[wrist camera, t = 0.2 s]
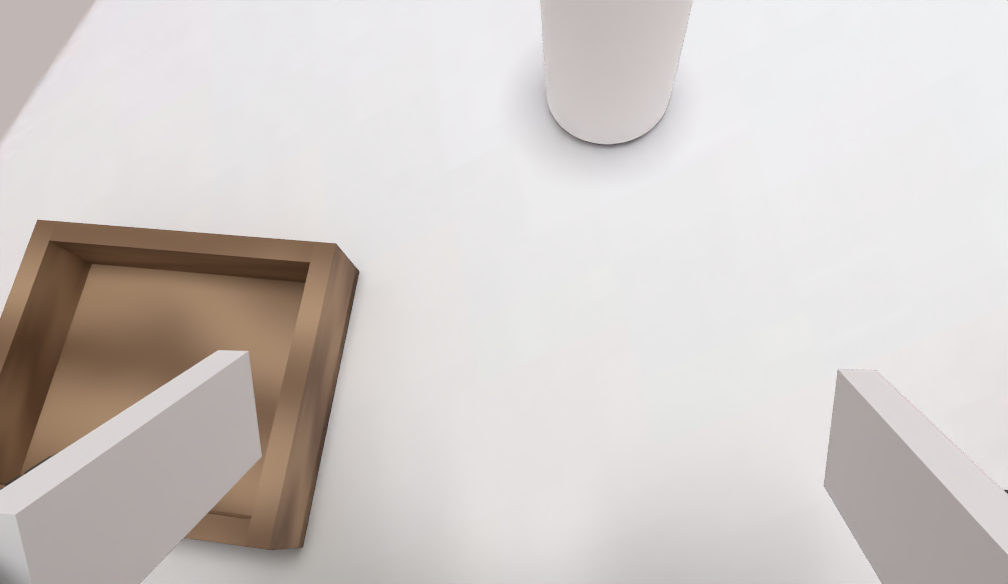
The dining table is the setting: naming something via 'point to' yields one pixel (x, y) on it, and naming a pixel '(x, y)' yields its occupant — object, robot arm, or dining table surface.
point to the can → (611, 64)
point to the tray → (177, 350)
